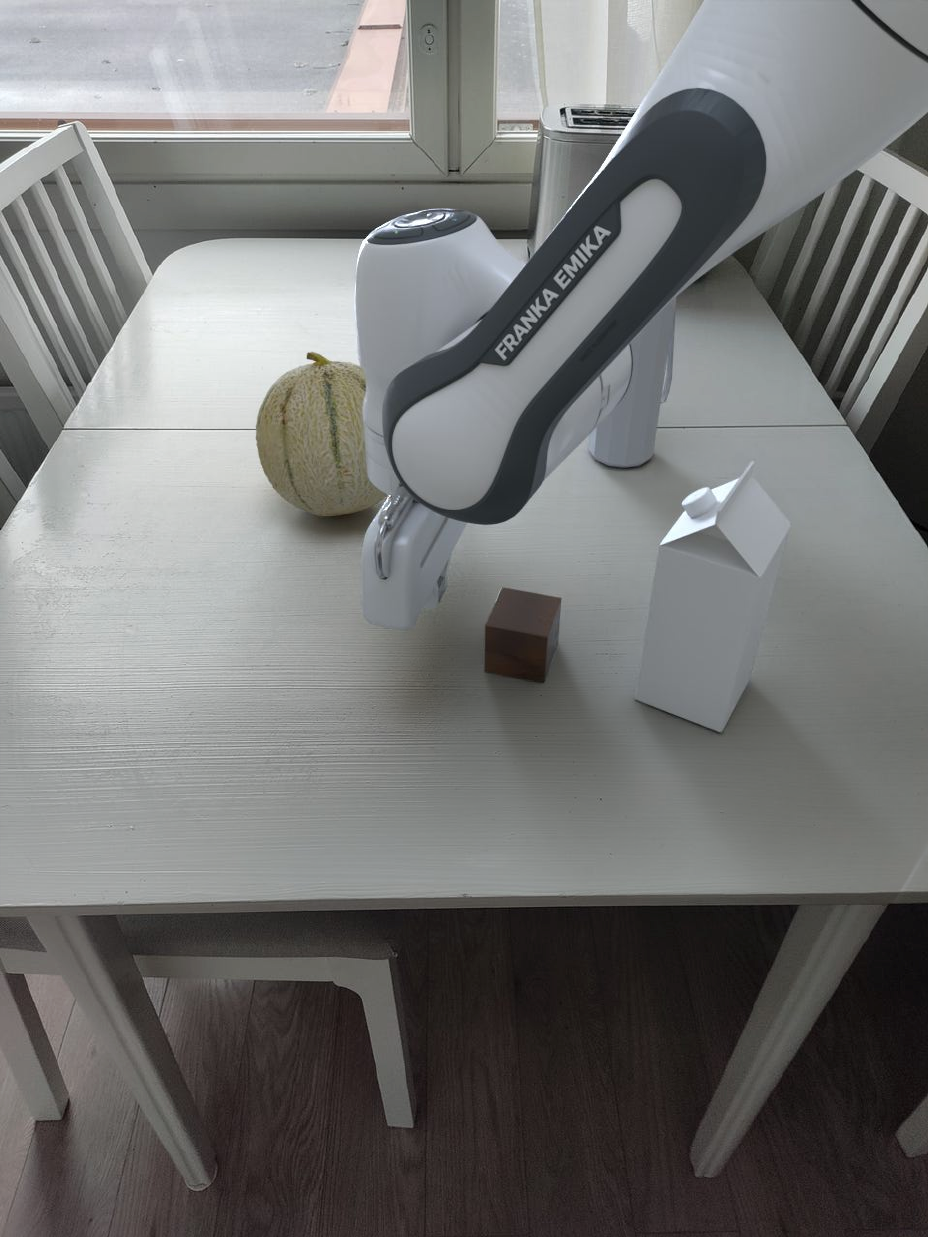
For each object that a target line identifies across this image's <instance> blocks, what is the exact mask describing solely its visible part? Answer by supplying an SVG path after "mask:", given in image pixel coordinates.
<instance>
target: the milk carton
mask: <svg viewBox="0 0 928 1237" xmlns="http://www.w3.org/2000/svg"><path fill="white" fill-rule="evenodd" d="M754 465H755V461H753V460H751V461H750V462H749V464H748V465H747V466H746V468H745V469H744V471H743V472H742V474H741V475H740V476H739V477H738V478H736V479H733V480H731V481H729V482H726V483H724V484H721V485H719V486H717V487H714V488H712V489H711V488H710V487H709V486H706V487H702V488H699V489H697V490H695V491H693V492H692V493H690V494H689V495H688V496H686V497H685V498H684V499H683V500H682V501H681V506H682V508H683V510H684V511H683V512H682V514H681V515H680V516H679V518H678V519H677V521H676V522H675V523H674V524H673V525H672V527H671V529H670V530H669V531H668V532H667V534H666V535H665V536H664V538H663V539H662V541H661V542H660V544H659V545H658V549H657V555H656V561H655V566H654V567H655V568H654V573H653V579H652V586H651V593H650V599H649V604H648V611H647V618H646V624H645V629H644V637H643V641H642V642H643V643H642V649H641V655H640V660H639V667H638V672H637V673H638V674H637V679H636V680H637V681H636V687H635V691H634V700H636V701H638V702H641V703H643V704H645V705H648V706H651V707H654V708H656V709H658V710H662V711H664V712H666V713H669V714H671V715H674V716H676V717H679V718H682V719H685V720H687V721H690V722H692V723H695V724H697V725H699V726H703V727H705V728H708V729H709V730H713V731H715V732H718V733H722V732H723V731H724V729H725V727H726V726H727V724H728V722H729V720H730V719H731V716H732V714H733V713H734V710H735V708H736V707H737V705H738V703H739V701H740V699H741V697H742V696H743V693H744V691H745V689H746V687H747V686H748V684H749V681H750V679H751V677H752V672H753V670H754V665H755V663H756V662H755V661H756V659H757V658H756V657H757V654H758V650H759V646H760V642H761V639H762V635H763V631H764V628H765V624H766V620H767V617H768V613H769V609H770V605H771V601H772V599H773V598H772V597H773V593H774V590H775V586H776V582H777V579H778V574H779V571H780V567H781V564H782V560H783V556H784V552H785V548H786V545H787V541H788V537H789V533H790V530H791V526H792V525H791V522H790V521H789V520H788V518H787V517H786V516H785V515H784V512H782V511H781V510H780V508H779V507H778V506H777V505H776V503H775V502H774V501H773V500H772V498H771V497H770V496H769V495H768V493H767V492H766V491H765V489H764V488H763V487H762V486H761V485H760V483H759V482H758V481H757V479H756V478H755V477H754V476H753V470H754Z"/></svg>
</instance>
